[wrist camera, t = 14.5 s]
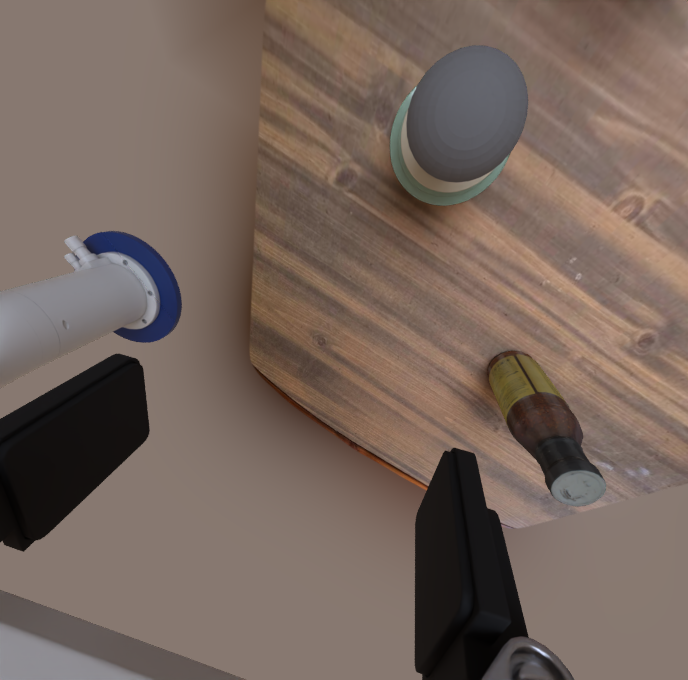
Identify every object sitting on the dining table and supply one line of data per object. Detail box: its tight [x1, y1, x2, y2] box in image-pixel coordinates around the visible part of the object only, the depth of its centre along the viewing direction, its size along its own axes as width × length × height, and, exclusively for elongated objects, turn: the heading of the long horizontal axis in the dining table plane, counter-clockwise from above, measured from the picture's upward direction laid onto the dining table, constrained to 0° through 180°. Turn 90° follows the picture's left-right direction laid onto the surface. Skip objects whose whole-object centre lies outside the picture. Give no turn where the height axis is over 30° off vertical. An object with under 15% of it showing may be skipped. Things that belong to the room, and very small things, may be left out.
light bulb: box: [406, 45, 528, 183], centre depth 20 cm, size 6×6×10 cm
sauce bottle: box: [488, 351, 606, 506], centre depth 36 cm, size 6×6×20 cm
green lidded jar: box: [390, 86, 510, 206], centre depth 30 cm, size 10×10×14 cm
